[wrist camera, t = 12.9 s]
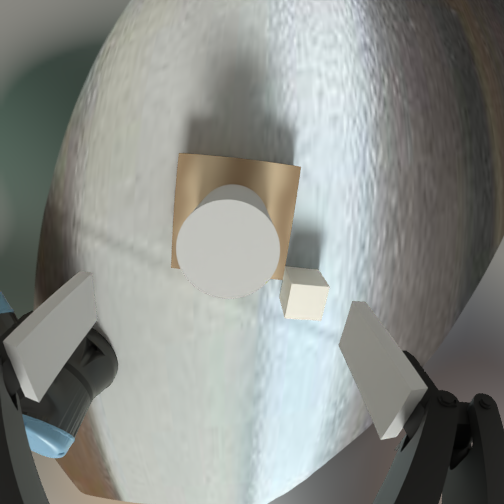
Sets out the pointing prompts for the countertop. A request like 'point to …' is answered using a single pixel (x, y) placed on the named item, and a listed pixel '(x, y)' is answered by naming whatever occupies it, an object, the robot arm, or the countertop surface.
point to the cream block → (303, 293)
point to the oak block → (240, 173)
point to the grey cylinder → (228, 243)
